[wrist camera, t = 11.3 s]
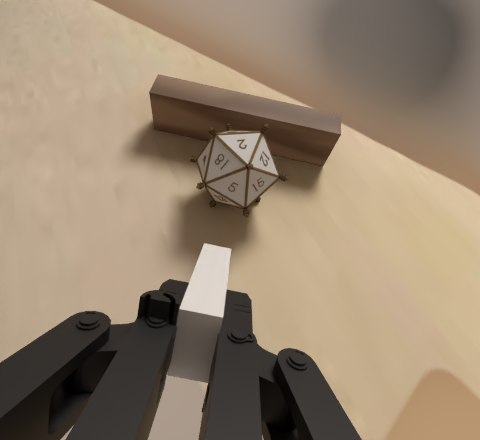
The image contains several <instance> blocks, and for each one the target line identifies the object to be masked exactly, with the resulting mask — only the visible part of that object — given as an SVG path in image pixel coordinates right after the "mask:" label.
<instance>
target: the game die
mask: <svg viewBox="0 0 480 440" xmlns="http://www.w3.org/2000/svg"><path fill="white" fill-rule="evenodd" d="M231 127H232V126H231V125H229V124H228V125H227V126H226V128H227V131H225V132H220V133H215V130H214V128H212V127H209V132H210V134H211V135H213V136H212V138H211V139H210V141H209V142H208V144H207V145H206V147H205V148H204V149H203V151H202V152H201V154H200V155H199V157H198V158H196V157H193V156H192V157H190V158H189V159H190V160H191V162H197V165H198V168H199V171H200V175H201V178H202V182H203V183H197V184H198V185H197V187H196V188H198V189H201V188H203V187H204V186H205V188H206V189H207V191H208V192H209V194H210V195H211V197H212V198H213V201H211V203H210V207H212V206H215V204H216V202H220V203H223V204H227V205H231V206H235V207H238V208H242V209H244V210H243V213H244V214H243V215H245V216H246V217H248V215H249V211H248V210H247V208H248V207H249V206H250V205H251V204H252V203H253V202H254V201H259V202H260V196H261V195H262V194H263V193H264V192H265V191H266V190H267V189H269V188H270V187H271V186H272V185H273V184H274V183H275V182H276V181H277V180H278V179H281V180H284V181H285V180H288V179H289V178H288V177H287V176H286V175H280V174H279V171H278V169H277V166H276V164H275V161H274V158H273V156H272V153H271V150H270V148H269V145H268V143H267V140H266V137H265V135H264V132H265V131H267V129H268V124H265V125H263V127H262V129H261V131H242V130H231V129H232V128H231Z"/></svg>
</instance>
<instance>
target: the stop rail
mask: <svg viewBox="0 0 480 440" xmlns="http://www.w3.org/2000/svg"><path fill="white" fill-rule="evenodd" d="M149 93H150V100H151V107H152V114H153V121H154V128H155V129H156V130H160V131H165V132H170V133H174V134H179V135H183V136H188V137H193V138H197V139H202V140H207V141H210V139H211V138H212V136H213V135H211V134H210V132H209V127H212V128H214V130H215V133H220V132H225V131H227V128H226V126H227V125H228V124H229V125H231V126H232V127H231V128H232V129H231V130H242V131H261V129H262V127H263V125H265V124H268V129H267V131H265V132H264V135H265V137H266V140H267V143H268V145H269V148H270V150H271V153H272V155H276V156H281V157H285V158H290V159H295V160H299V161H304V162H309V163H313V164H318V165H324V164H325V162H326V160H327V158H328V157H329V155H330V153H331V151H332V149H333V148H334V146H335V144H336V142H337V141H338V139H339V137H340V135H341V115H339V114H334V113H330V112H326V111H321V110H317V109H312V108H308V107H303V106H299V105H294V104H290V103H285V102H281V101H276V100H272V99H267V98H263V97H258V96H254V95H249V94H245V93H240V92H236V91H231V90H226V89H222V88H217V87H213V86H208V85H204V84H199V83H195V82H190V81H186V80H181V79H177V78H172V77H168V76H163V75H159V74H158V76H157V78H156V80H155V82H154V84H153V86H152V88H151V90H150V92H149Z"/></svg>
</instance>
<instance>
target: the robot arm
mask: <svg viewBox="0 0 480 440" xmlns="http://www.w3.org/2000/svg"><path fill="white" fill-rule="evenodd" d="M230 256H231V249H230V248H225V247H220V246H215V245H210V244H206V243H204V245H203V248H202V250H201V253H200V256H199V258H198V261H197V264H196V266H195V269H194V272H193V274H192V277H191V279H190V282H189V283H187V282H182V281H177V280H172V279H169V280H167V281H166V282H164V283H162V285H161V287H160V289H159V290H153V291H148V292H146V293H144V294H142V295H141V296H140V302H139V309H138V316H137V319H136V321H135V322H133V323H129V324H113V325H110V324H111V320H110V318H109V317H108V316H107V315H105V314H104V313H101V312H97V311H85V312H80V313H77V314H75V315H73V316H71V317H69V318H68V319H66V320H65V321H63V322H62V323H60V324H59V325H57V326H56V327H54V328H52V329H51V330H49V331H48V332H46V333H45V334H43V335H42V336H40V337H39V338H37V339H36V340H34V341H33V342H31V343H30V344H28V345H27V346H25V347H24V348H22V349H21V350H19V351H17V352H16V353H14V354H13V355H11V356H10V357H8V358H7V359H5V360H4V361H2V362H1V363H0V440H60V439H61V438H62V437H63V436H64V435H65V434H66V433H67V432H68V431H69V429H70V428H71V427H72V426H73V425H74V426H73V428H72V430H71V432H70V433H69V435H68V436H67V438H66V440H147V439H148V436H149V433H150V430H151V427H152V424H153V421H154V417H155V414H156V411H157V408H158V405H159V402H160V398H161V395H162V392H163V389H164V385H165V380H166V375H169V376H174V377H180V378H185V379H190V380H195V381H201V382H206V383H208V386H207V391H206V395H205V399H204V404H203V408H202V412H203V415H202V421H201V427H200V434H199V440H262V435H263V438H264V440H362V439H361V438H360V436H359V435H358V433H357V431H356V430H355V428H354V426H353V425H352V423H351V421H350V420H349V418H348V416H347V415H346V413H345V411H344V410H343V408H342V406H341V405H340V403H339V401H338V400H337V398H336V396H335V395H334V393H333V391H332V390H331V388H330V386H329V385H328V383H327V381H326V380H325V378H324V376H323V375H322V373H321V371H320V370H319V368H318V366H317V365H316V363H315V362H314V361H313V359H312V358H311V357H310V356H308V355H307V354H306V353H304V352H302V351H300V350H297V349H292V348H287V349H283V350H281V351H280V352H279V353H278V356H277V355H275V354H273V353H270V352H268V351H266V350H264V349H263V348H262V347H260V346H259V345H258V344H257V340H256V337H255V335H254V334H253V330H252V305H251V299H250V298H249V296H248V295H247V294H246V293H241V292H236V291H231V290H227V281H228V273H229V265H230ZM167 372H168V373H167Z"/></svg>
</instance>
